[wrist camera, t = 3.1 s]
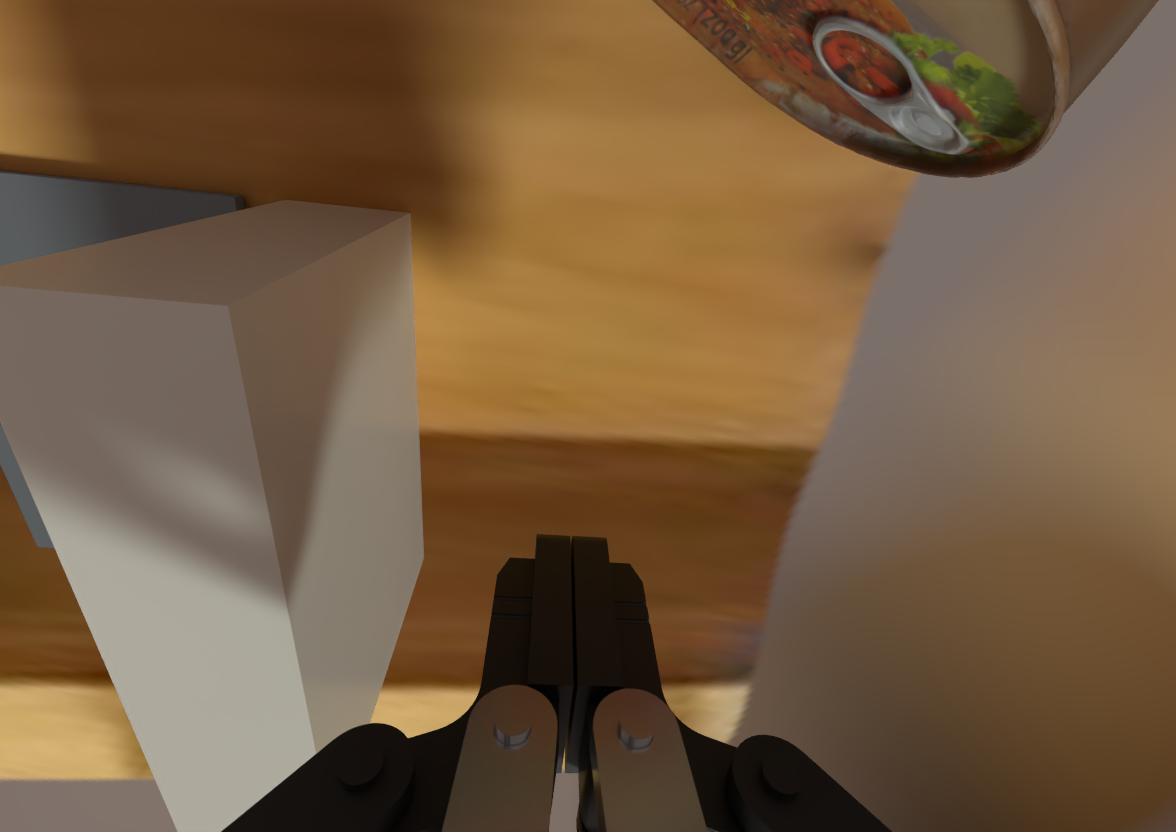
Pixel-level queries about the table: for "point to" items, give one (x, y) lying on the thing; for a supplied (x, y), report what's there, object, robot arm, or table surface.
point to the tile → (227, 477)
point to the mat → (83, 245)
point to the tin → (918, 70)
